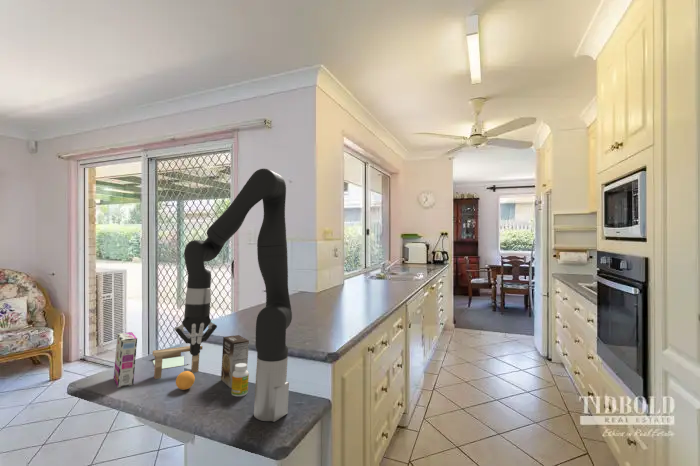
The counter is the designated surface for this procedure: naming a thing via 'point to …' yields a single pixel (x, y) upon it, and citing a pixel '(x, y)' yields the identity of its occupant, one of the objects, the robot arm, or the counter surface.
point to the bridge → (159, 353)
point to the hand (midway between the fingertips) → (194, 355)
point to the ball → (185, 380)
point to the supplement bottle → (240, 380)
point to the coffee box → (233, 356)
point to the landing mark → (172, 362)
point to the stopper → (171, 355)
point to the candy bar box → (125, 359)
